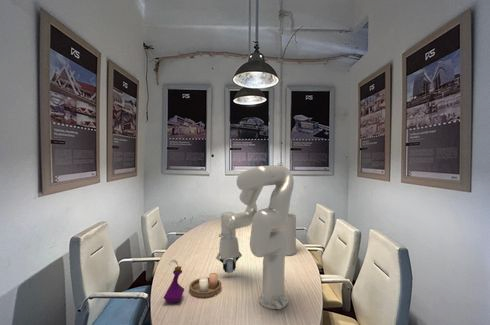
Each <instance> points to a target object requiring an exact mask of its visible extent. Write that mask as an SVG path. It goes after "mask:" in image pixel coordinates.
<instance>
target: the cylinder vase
mask: <svg viewBox="0 0 490 325" xmlns="http://www.w3.org/2000/svg"><path fill="white" fill-rule="evenodd" d="M278 230H281V231H282V232H284V234H285V235H286V238H287V247H286V252H285V257H286V256H294V255H295V254H296V252H297V215H296V214H293V213H288V218H287V223H286V225H285V226H284V227H282V228H280V229H278Z"/></svg>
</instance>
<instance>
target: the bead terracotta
mask: <svg viewBox="0 0 490 325" xmlns="http://www.w3.org/2000/svg"><path fill="white" fill-rule="evenodd" d="M208 276H209V288H210V289H216V288H217V287H218V280H219V279H218V278H219V276H218V273H216V272H212V273H209V275H208Z"/></svg>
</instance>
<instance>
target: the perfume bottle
mask: <svg viewBox="0 0 490 325" xmlns="http://www.w3.org/2000/svg"><path fill="white" fill-rule="evenodd" d="M171 263H174V264H176V265H177V266H175V267H174V270H172V271H173V272H172V274H173V279H172V281H171V283H170V285H169V287H168V289H167V290H166V292H165V294H164V296H163V299H164V300H165V301H166V302H167V303H168V304H179V303H180V301H181V298H182V296H183V294H184V292H185V288H184V287H183V286H181V285H180V284H179V282H178V280H179V276H180V275H181V274H182V273H183V269H182V266H181V265H180V266H179V264H178V261H177V260H176V259H174V258H173V259H172V260H170V261H169V264H168V265H171Z"/></svg>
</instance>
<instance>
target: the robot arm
mask: <svg viewBox="0 0 490 325" xmlns="http://www.w3.org/2000/svg"><path fill="white" fill-rule="evenodd" d="M294 180H295V179H294V176H293V174H292V172H291V171H290V169H288V168H287V167H286V166H283V165H275V164H274V165H259V166H255V167H252V168H249V169H247V170H243V171H242V172H240V173H239V174H237V177H236V186H237V188H238V189H239V190H240V191H241V192H240V193H239V200H240V202H242V204H243V205H245V206H247V207H246V208H245V210H244V211H243V212H237V213H235V212H232V211H224V212H222V213H221V214H220V228H221V229H220V230H221V232H220V234H218V237H219V238H220V240H219V245H218V246H219V248H218V251H219V252H218V253H217V255H216V257H215V259H216V260H217V261H219V262H221V264H222V269H223V271H224V273H225V272H226V271H227V270H226V259H233V272H234V271H236V268H237V261H238V260H239V259H240V258H241V257H242V256H243V254H242V253H241V252H240V248H239V247H240V246H239V241H238V240H239V239H238V237H236V234H237V233H236V232H237V231H236V230H238V229H241V228H245V227H246V228H247V227H249V226H251V228H250V229H251V231H250V237H249V248H250V249H249V250H250V252H251V254H253V256H254V257H256V258H263V259H262V294H260V295H259V298H258V301H259V304H260V305H261V306H262V307H263V308H266V309H269V310H281V309H283V308H286V307H287V306H288V304H289V299H288V297H287V296H286V295H285V267H286V266H285V263H286V262H285V259H286V256H285V252H286V247H287V238H286V235H285V234H284V232H282V231H281V230H278V229H280V228H282V227H284V226H285V225H286V223H287V218H288V214H289V213H290V212H289V211H290V205H291V197H292V195H293V194H292V193H293V190H294V182H295V181H294ZM274 185H275V187H274V189H273V190H272V192H271V194H270V198H269V204H268V207H267V208H262V209H261V208H260V209H259V210H258V206H257V200H258V198H259V197H260V194H261V192H262V190H263V188H264V187H266V186H267V187H268V186H274ZM226 273H227V272H226Z"/></svg>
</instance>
